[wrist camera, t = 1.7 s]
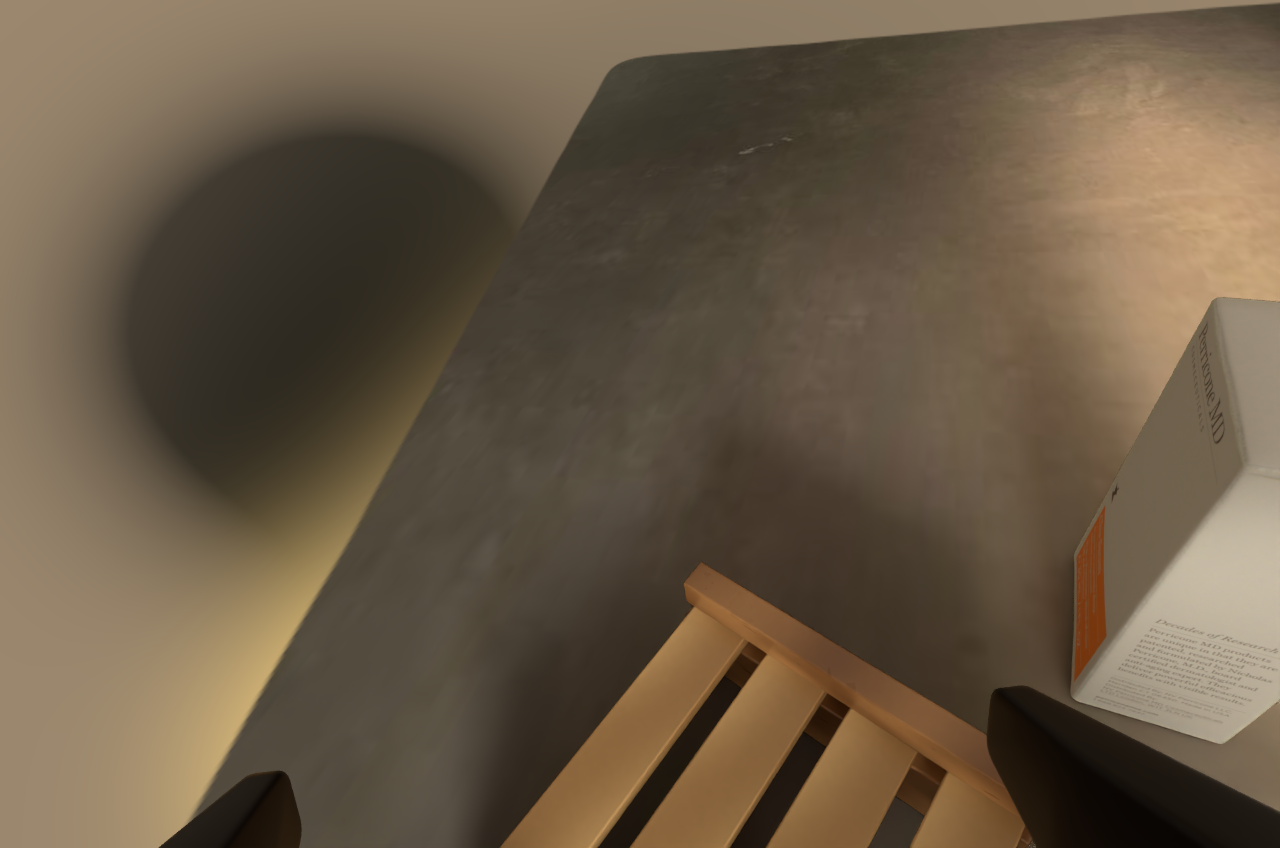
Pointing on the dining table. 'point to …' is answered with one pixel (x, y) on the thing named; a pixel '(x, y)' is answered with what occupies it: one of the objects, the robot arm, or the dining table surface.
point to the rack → (774, 744)
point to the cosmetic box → (1192, 543)
